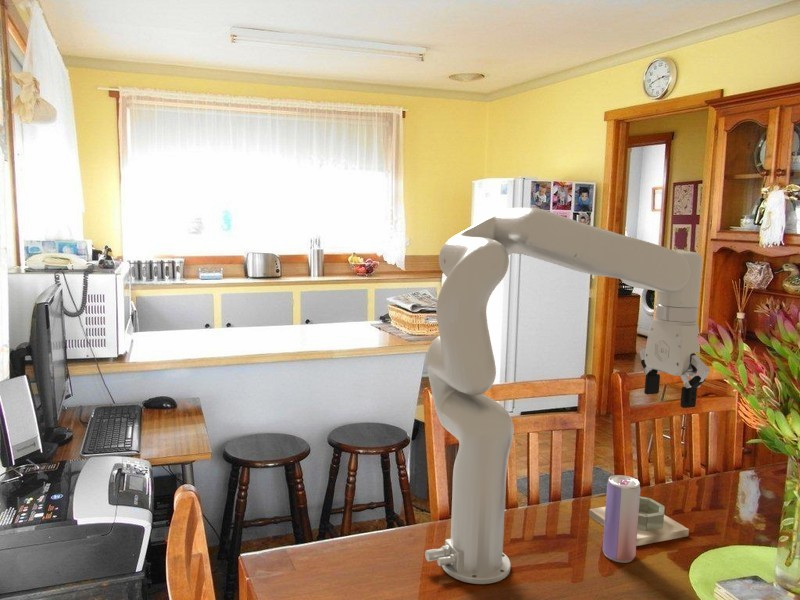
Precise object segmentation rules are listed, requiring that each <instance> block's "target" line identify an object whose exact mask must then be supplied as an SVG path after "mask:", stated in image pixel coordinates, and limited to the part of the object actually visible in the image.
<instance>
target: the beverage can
mask: <svg viewBox="0 0 800 600" xmlns="http://www.w3.org/2000/svg"><path fill="white" fill-rule="evenodd" d="M640 485H641V483H640V481H639V480H638V479H636V478H634V477H632V476H629V475H622V474H621V475H620V474H617V475H616V474H615V475H614V474H613V475H611V476H609V477H608V481H607V485H606V496H605V507H606V508H605V522H604V526H603V537H602V552H603V554H604V556H605V557H606V558H607V559H609V560H611V561H613V562H617V563H622V564H623V563H625V564H626V563H630V562H632V561H633V560H634V559H635V557H636V553H637V546H636V541H637V528H638V515H639V502H640V496H641V486H640Z"/></svg>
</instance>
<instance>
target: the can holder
mask: <svg viewBox="0 0 800 600" xmlns="http://www.w3.org/2000/svg"><path fill="white" fill-rule="evenodd" d="M605 508H606V506H601V507H595V508H590V509H588V517H590V518H591V519H593V520H594V521H596V522H597V523H599V525H601V526H603V527H604V522H605ZM689 531H690V529H689V528H687V527H686V526H684V525H683V524H681V523H679V522H677V521H676V520H674V519H673V518H671V517H669V516H668V515H666V514H665V505H663V504H661V503H659V502H658V501H656V500H654V499H652V498H650V497H645V496H641V495H640V502H639V515H638V528H637V541H636V547H638V546H644V545H649V544H653V543H654V544H655V543H659V542H665V541H670V540H677V539H682V538H687V537H689V533H690V532H689Z"/></svg>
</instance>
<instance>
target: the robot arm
mask: <svg viewBox="0 0 800 600" xmlns="http://www.w3.org/2000/svg"><path fill="white" fill-rule="evenodd" d="M512 254H515V255H516V254H517V255H523V256H527V257H531V258H534V259H538V260H540V261H544V262H547V263H551V264H553V265H557V266H561V267H563V268H566V269H569V270H573V271H575V272H580V273H583V274H588V275H592V276H596V277H597V276H598V277H599V276H600V277H605V278H606V277H607V278H612V279H613V278H614V279H618V280H619V279H620V281H622V282H623V283H624V284H625V285H627V286H630V287H633V288H637V289H641V290H642V289H643V290H649V291H650V290H651V291H655V292H657V296H656V306H655V307H654V311H655V316H654V317H655V318H652V320H651V323H650V326H649V329H648V334H647V339H646V346H645V347H644V348H642V349H639V351H638V353H639V357H640V360H641V361H640V364H641V365H642V367H643V373H644V375H645V380H644V381H645V383H644V394H645V395H648V396H649V395H657V394H659V392H660V382H661V381H660V380H661V374H659V372H662V373H665V374H668V375H671V376H673V377H675V376H676V377H679V376H680V379H681V381H682V382H683V385H684V386H682V388H681V394H680V405H679V406H680V408H682V409H689V408H695V407H696V405H697V391H698V388H700V387H701V385H702V384H703V383H704V382H705V381H706V378H707V377H708V375H709V373H710V372H711V369H710V367H709V366H708V365H706V363H705V362H704V361H703V360H702V359H701V358H700V357H701V356H700V357H698V356H697V355H696V354H695V352H698V353H700V354H701V351H700V350H701V347H700V346H701V344H700V345H699V341H698V337H697V336H698V334H699V335H700V327H699V324H698V317H699V316H698V314H699V304H700V293H701V283H702V271H703V257H702V255H701V254H700V253H699V252H695V251H688V250H687V251H684V250H673V249H670V248H667V247H665V246H662V245H659V244H656V243H652V242H650V241H646V240H642V239H638V238H636V237H631V236H627V235H623V234H621V233H617V232H614V231H610V230H607V229H604V228H603V229H602V228H600V227H596V226H593V225H590V224H587V223H583V222H581V221H578V220H576V219H573V218H569V217H566V216H564V215H562V214H561V215H560V214H558V213H555V212H551V211H549V210H545V209H542V208H538V207H509V208H505V209H503V210H500V211H498V212H497V213H494V214H492V215H491V216H490V215H489V217H487V218H485V219H483V220H480V221H479V222H477V223H476V224H474V225H472V226H470V227H468V228H466V229H465V230H462V231H461V232H459V233H457V234H454V235H453V236H452V237H450V238H449V239H448V240H447V241H446V242H445V243H444V244H443V246H442V247H441V249H440V251H439V254H438V265H439V268H440V271H441V272H442V273H443V275H444V276H446V278H445V280H444V282H443V284H442V286H441V288H440V291H439V293H438V296H437V301H436V308H435V309H436V312H435V313H436V322H437V325H438V326H437V327H438V336H436V337H435V338H434V339H433V340H432V341H431V343H430V345H429V347H428V348H427V349H428V350H427V353H426V361H425V362H426V371H427V376H428V380H429V386H430V391H431V394H432V399H433V403H434V408H435V411H436V415H437V418H438V421H439V422H440V424H441V425H442V427H443V428H444V429H445V430H446V431H447V432H448V433H449V434H451V435H452V436H453V437H454V438H455V439H456V440H458V444H459V445H458V451H457V453H456V457H455V460H454V465H453V471H452V490H451V491H452V495H451V497H452V500H451V516H450V517H451V522H450V526H451V527H450V538H447V539H445V541H444V542H445V545H441V546H440V548H432V549H426V550H425V551H424V556H425V560H426V562H432V561H436V562H437V566H439V567H442V569H443V571H444V572H445V573H446V574H447V575H449V576H450V577H452V578H454V579H455V580H458V581H461V582H464V583H468V584H475V585H488V584H494V583H495V584H496V583H499V582H500V581H502V580H503V579H506V577H508V576H509V575H510V573H511V559H510V558H509V557H508V556H507V555H506V554H505V553H504V552H503V549H504V533H505V532H504V530H505V529H504V528H505V512H506V511H505V510H506V489H507V473H508V472H507V471H508V462H509V458H510V457H509V455H510V451H511V447H512V444H513V439H514V430H515V429H514V423H513V420H512V417H511V415H510V413H509V412H508V411H507V409H506V408H505V407H504V406H503V405H502V404H500V402H498V401H496V400H494V399H493V398H491V397H489V396H488V395H486V394H484V393H486V392H488V391H489V390H490V389H491V387H493V385H494V383H495V380H496V377H497V370H496V369H497V368H496V360H495V356H494V351H493V346H492V341H491V337H490V331H489V324H488V318H487V317H488V316H487V307H488V303H489V300H490V297H491V295H492V294H493V291H494V290H495V289H496V288H497V286H498V285H499V284H501V282H502V281H503V280H504V277H505V276H506V275H507V272H508V269H509V264H510V259H509V258H510V257H509V256H510V255H512Z"/></svg>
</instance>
